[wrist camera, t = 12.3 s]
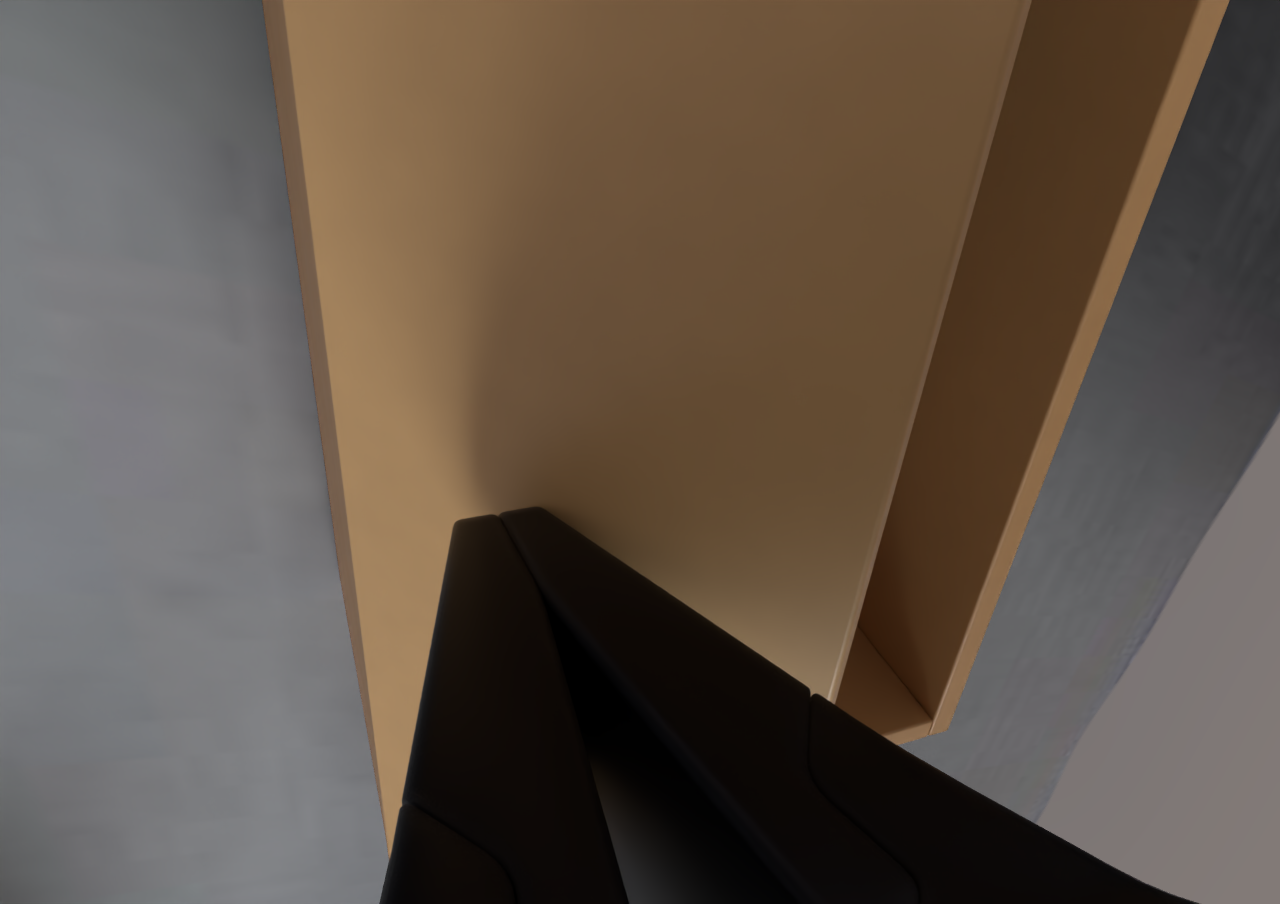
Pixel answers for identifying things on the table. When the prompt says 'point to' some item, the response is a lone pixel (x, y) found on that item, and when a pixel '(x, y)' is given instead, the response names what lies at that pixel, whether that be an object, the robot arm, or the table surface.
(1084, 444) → the table surface
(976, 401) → the carton
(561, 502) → the flap
